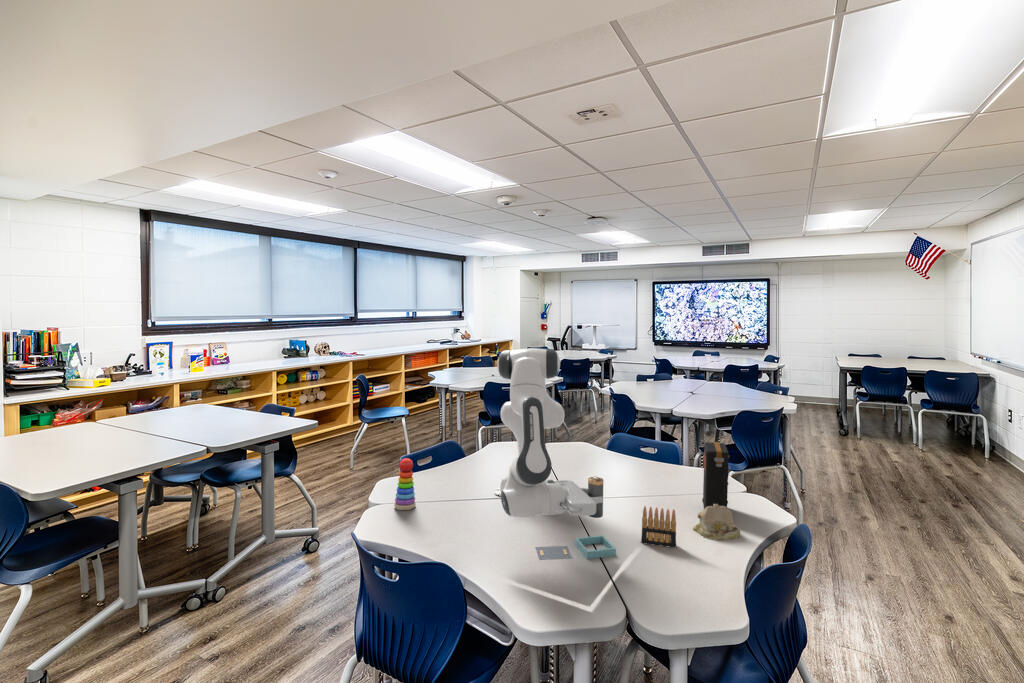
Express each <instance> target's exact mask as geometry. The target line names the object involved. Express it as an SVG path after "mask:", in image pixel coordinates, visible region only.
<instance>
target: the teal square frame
mask: <svg viewBox="0 0 1024 683" xmlns="http://www.w3.org/2000/svg"><path fill="white" fill-rule="evenodd" d="M574 543H575V544H574V545H575V547H577V550H579V551H580V553H582V555H583V556H584V557H585V558H586V560H587V559H596V558H597V559H598V558H604V557H613V556H614V557H615V556H616V555H617V548H616V547H615V546H614V545H613V544H612V543H611V542H610V541H609V540H608V539H607V538H606V537H605V535H603V534H602V535H593V536H582V537H575V539H574ZM592 544H602V545H603V546H604V548H600V549H599V548H598V549H592V550H591V549H590V550H588V549H587V548H586V547H585V545H592Z"/></svg>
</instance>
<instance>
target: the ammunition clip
mask: <svg viewBox="0 0 1024 683" xmlns="http://www.w3.org/2000/svg"><path fill="white" fill-rule="evenodd" d="M647 511H648V512H647ZM653 514H654V515H653ZM670 516H671V518H670ZM676 516H677V514H676V511H675V509H674V508H673V509H672V511H671V513H670V510H669V508H666V512H665V510H664V508H663V507H661V508H660V512H659V509H658V507H657V506H656V507H655V509H654V513H653V507H652V506H650V507H649V510H647V507H646V505H644V507H643V509H642V518H641V540H640V541H641V542H640V543H641V544H644V543H647V544H646V545H651V544H654V545H653V546H659V545H662V546H661V547H666V546H669V547H668V548H673V547H676V548H677V519H676ZM653 517H654V518H653Z"/></svg>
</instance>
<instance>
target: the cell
mask: <svg viewBox="0 0 1024 683" xmlns="http://www.w3.org/2000/svg"><path fill="white" fill-rule="evenodd" d="M604 481H605V480H604V478H602V477H599V476H597V475H596V476H592V477H591V476H590V477H589V478H587V489H588V496H589V497H596V496H599V495H601V496H602V497H603V498H604ZM587 516H588V517H590V518H593V519H596V518H597V519H599V518H603V516H604V501H603V502H602V503H597V504H596V514H594V515H587Z"/></svg>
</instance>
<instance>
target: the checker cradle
mask: <svg viewBox="0 0 1024 683" xmlns="http://www.w3.org/2000/svg"><path fill="white" fill-rule="evenodd" d="M535 550H536V554H537V557H538V560H539V561H542V560H545V561H546V560H568V559H569V560H570V559H571V560H572V559H573V556H572V554H571V552H570V549H569V548H568V546H567V545H555V546H554V545H552V546H550V545H549V546H535Z"/></svg>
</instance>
